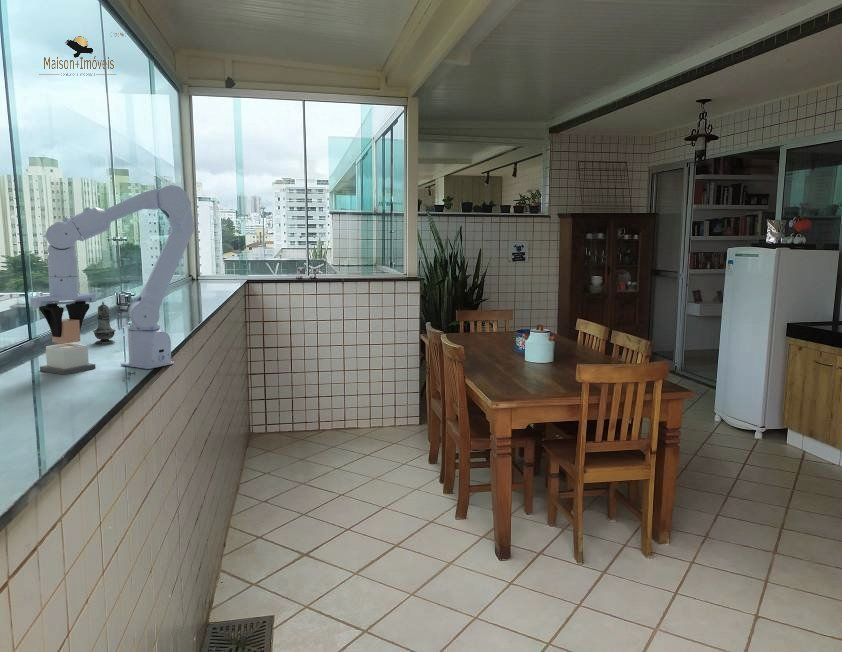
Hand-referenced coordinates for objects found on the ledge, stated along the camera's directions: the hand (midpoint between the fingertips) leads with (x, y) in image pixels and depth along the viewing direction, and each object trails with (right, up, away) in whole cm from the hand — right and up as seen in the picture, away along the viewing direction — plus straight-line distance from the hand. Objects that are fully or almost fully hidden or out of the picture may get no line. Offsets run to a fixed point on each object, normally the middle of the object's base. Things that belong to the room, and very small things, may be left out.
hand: (66, 335), depth 141 cm
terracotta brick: (0, -1, 0) cm, 1 cm away
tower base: (0, -8, +1) cm, 8 cm away
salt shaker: (-10, -3, +37) cm, 39 cm away
